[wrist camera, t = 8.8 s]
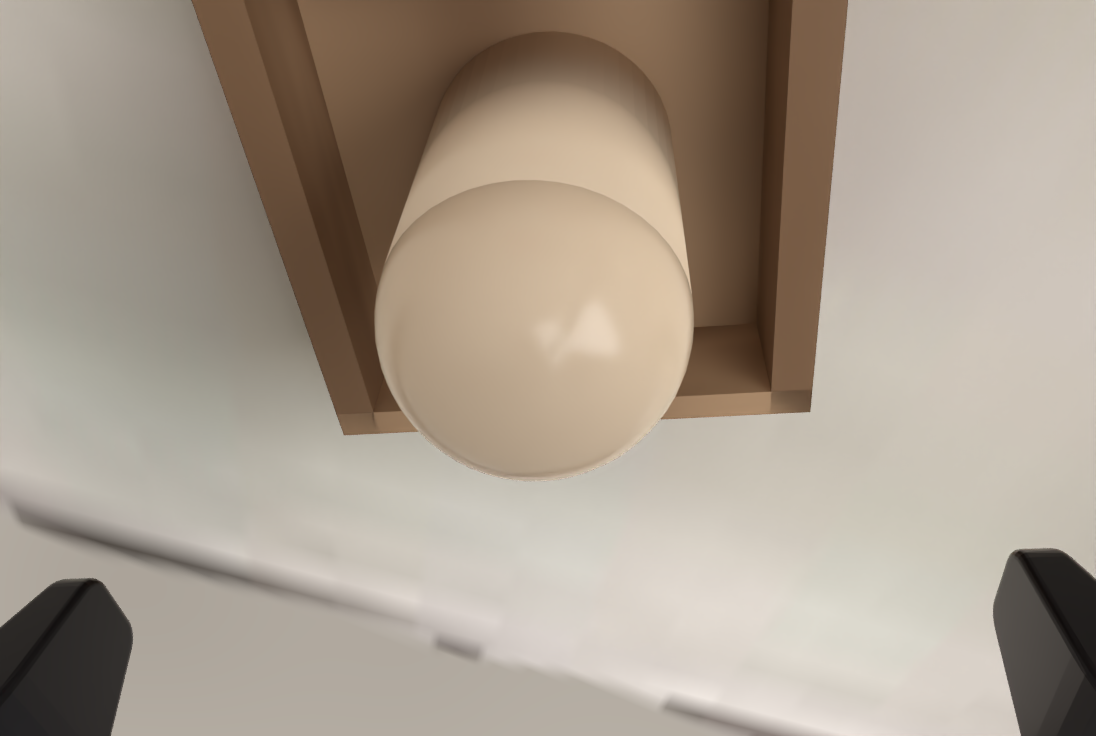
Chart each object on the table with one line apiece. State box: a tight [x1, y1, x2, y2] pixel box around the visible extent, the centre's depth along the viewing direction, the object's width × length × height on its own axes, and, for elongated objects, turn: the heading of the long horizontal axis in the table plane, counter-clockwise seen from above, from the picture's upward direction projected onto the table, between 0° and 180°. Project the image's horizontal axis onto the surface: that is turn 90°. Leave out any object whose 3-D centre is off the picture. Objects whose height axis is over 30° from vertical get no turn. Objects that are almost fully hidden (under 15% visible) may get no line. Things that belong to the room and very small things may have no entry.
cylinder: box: [374, 31, 694, 481], centre depth 14 cm, size 5×5×8 cm
